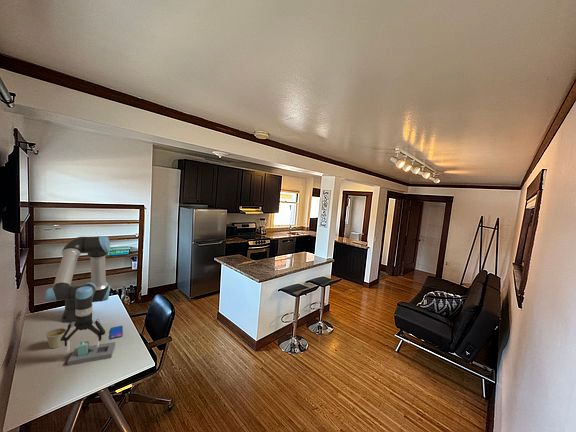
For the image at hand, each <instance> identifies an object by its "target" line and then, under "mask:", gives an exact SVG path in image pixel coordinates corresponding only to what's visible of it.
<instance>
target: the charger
mask: <svg viewBox="0 0 576 432" xmlns="http://www.w3.org/2000/svg"><path fill="white" fill-rule="evenodd" d="M89 342H90V341H89V340H87V341H81V342H79V344H78V346H77V348H78V356H83V355H88V353H89V346H90V343H89Z"/></svg>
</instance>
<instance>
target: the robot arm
mask: <svg viewBox="0 0 576 432" xmlns="http://www.w3.org/2000/svg"><path fill="white" fill-rule="evenodd" d="M110 242H111V241H110V238H109V237H108V236H104V235H103V236H102V235H99V236H98V235H97V236H78V237H75V238H73V239H71V240H70V241H69V242H67V243H66V244H65V246H63V249H62V251H61V255H62V258H61V260H60V264H59V267H58V270H57V274H56V277H55V280H54V282H53V287H50V288H47V289H46V291H45V296H44V299H45V302H48V303H49V302H57V301H58V302H59V301H60V302H61V301H64V311H63V313H62V316H61V321H62V322H63V323H68V325H67V328H66V332H65V333H64V335H63V336H62V338H61V340H60V341H63V342H64V347H66V353H69V352H70V351H71V338H72V337H73V336H74V335H75V334H76V333H77V332H78V331H86V330H89V331H91V332H93V333H94V334H95V335H96V345H97V347H98V346H99V345H100V342H101V341H102V336H104V335H106V330H105V329H104V327H103V326H102V324H101V323H100V320H99V318H97V319H96V320H93V303H97V302H98V303H99V302H106V301H108V300H109V298H110V291H111V288H112V287H111V284H109V283H108V282H107V279H106V277H107V276H106V274H107V273H106V272H107V271H106V270H107V269H106V256H107V255H109V254H108V253H109V252H111V243H110ZM81 254H87V256H88V257H89V258H90V281H91V282H86V283H84V284H79V285H72V286H71V284H72V281H73V278H74V277H73V276H74V273H75V271H76V270H75V269H76V265H77V262H78V258H79V257H80V256H81ZM93 324H94V325H95V326H94V325H93ZM73 327H75V328H74V329H73V330H72V331H71V332H70V333H69V331H70V330H71V328H73ZM67 334H68V336H67Z"/></svg>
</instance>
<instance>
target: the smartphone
mask: <svg viewBox="0 0 576 432" xmlns="http://www.w3.org/2000/svg"><path fill="white" fill-rule="evenodd" d="M123 329H124V328H123V325H118V326H112V327H110V329H109V340H114V339H118V338H122V337H123V336H124V335H123V332H124V331H123Z"/></svg>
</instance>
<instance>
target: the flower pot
mask: <svg viewBox="0 0 576 432" xmlns="http://www.w3.org/2000/svg"><path fill="white" fill-rule="evenodd" d="M66 330H67V328H64V327H59V328H55V329H51V330H49V331H47V332H46V333H45V337H46V339H47V343H48V347H49V349H56V348H60V347H61V346H62V345H63V344H64V341H60V340H61V338H62V336H63V335H64V333H65V332H66Z"/></svg>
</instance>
